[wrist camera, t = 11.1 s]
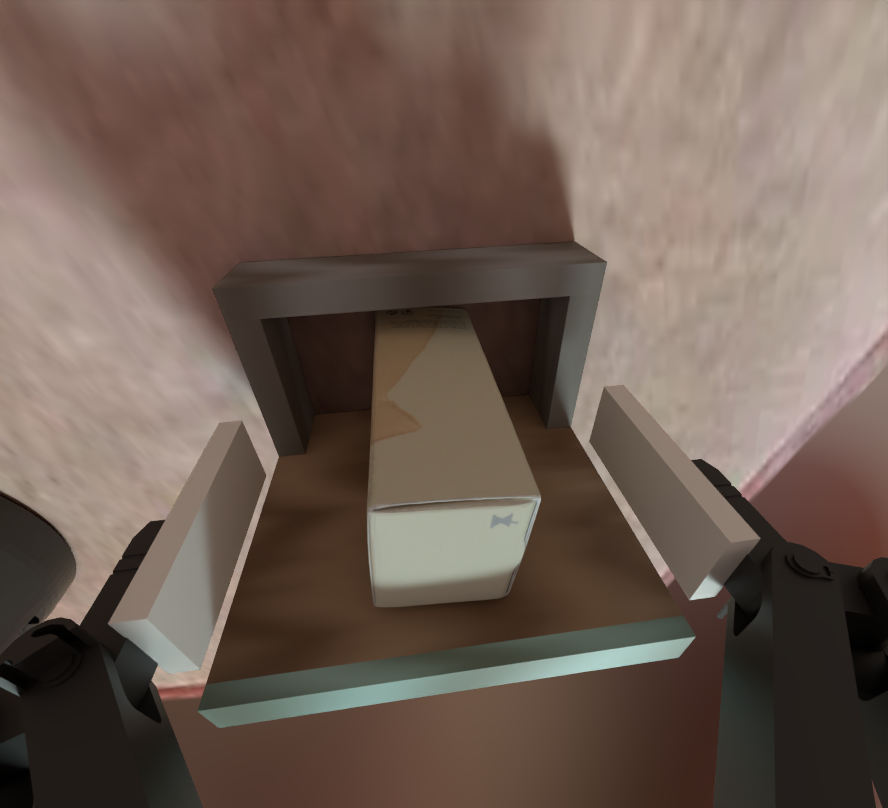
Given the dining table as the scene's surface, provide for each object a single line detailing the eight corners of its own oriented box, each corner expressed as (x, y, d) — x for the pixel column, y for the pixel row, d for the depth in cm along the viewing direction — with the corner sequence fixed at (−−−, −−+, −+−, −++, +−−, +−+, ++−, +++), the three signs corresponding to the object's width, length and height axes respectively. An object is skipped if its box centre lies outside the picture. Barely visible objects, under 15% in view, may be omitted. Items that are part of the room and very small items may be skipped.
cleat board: (299, 437, 21) (219, 728, 11) (239, 262, 15) (-37, 528, 5) (546, 413, 22) (678, 657, 12) (575, 241, 17) (867, 430, 6)
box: (375, 304, 17) (362, 499, 8) (469, 306, 18) (551, 492, 9) (378, 399, 20) (371, 616, 11) (458, 399, 21) (511, 604, 12)
